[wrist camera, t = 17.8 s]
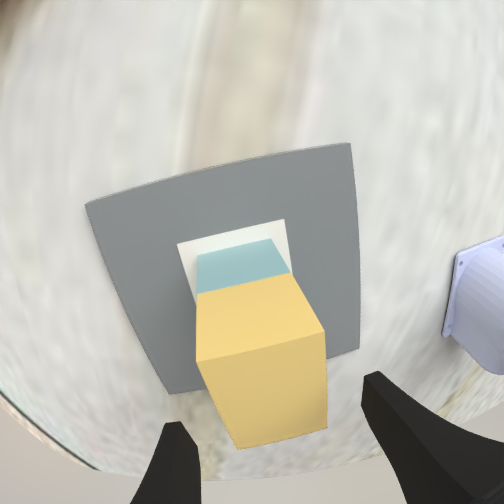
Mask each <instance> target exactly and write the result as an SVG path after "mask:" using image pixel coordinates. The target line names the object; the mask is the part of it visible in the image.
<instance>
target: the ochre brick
mask: <svg viewBox="0 0 504 504" xmlns="http://www.w3.org/2000/svg"><path fill="white" fill-rule="evenodd" d="M196 363H197V365H198V368H199V370H200V372H201V375H202V377H203V379H204V381H205V384H206V386H207V388H208V390H209V393H210V395H211V397H212V399H213V401H214V403H215V406H216V408H217V410H218V412H219V414H220V416H221V418H222V420H223V422H224V424H225V426H226V429H227V431H228V433H229V435H230V437H231V439H232V440H233V442H234V444H235V446H236V448H237V450H241V449H246V448H251V447H256V446H261V445H266V444H270V443H274V442H279V441H283V440H287V439H291V438H295V437H298V436H302V435H305V434H309V433H312V432H316V431H319V430H322V429H326V428H327V373H326V347H325V331H324V329H323V327H322V325H321V324H320V322H319V320H318V318H317V317H316V315H315V313H314V311H313V310H312V308H311V306H310V304H309V303H308V301H307V299H306V297H305V296H304V294H303V292H302V291H301V289H300V287H299V285H298V284H297V282H296V280H295V278H294V277H293V275H292V273H291V272H290V273H286V274H282V275H278V276H274V277H270V278H265V279H261V280H257V281H253V282H249V283H244V284H240V285H236V286H231V287H227V288H222V289H218V290H214V291H209V292H205V293H200V294H197V308H196Z"/></svg>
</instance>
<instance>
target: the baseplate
mask: <svg viewBox="0 0 504 504" xmlns="http://www.w3.org/2000/svg"><path fill="white" fill-rule="evenodd" d="M85 208H86V211H87V214H88V217H89V220H90V223H91V226H92V229H93V232H94V234H95V237H96V240H97V243H98V246H99V248H100V251H101V254H102V256H103V259H104V262H105V264H106V267H107V269H108V272H109V274H110V277H111V279H112V281H113V284H114V286H115V289H116V291H117V293H118V296H119V298H120V300H121V302H122V305H123V307H124V309H125V311H126V313H127V316H128V318H129V320H130V322H131V324H132V326H133V328H134V330H135V332H136V334H137V336H138V338H139V340H140V342H141V344H142V346H143V348H144V350H145V352H146V354H147V356H148V358H149V360H150V362H151V364H152V365H153V367H154V369H155V371H156V373H157V375H158V376H159V378H160V380H161V382H162V383H163V385H164V387H165V389H166V390H167V392H168V394H176V393H183V392H189V391H195V390H201V389H206V388H207V386H206V384H205V381H204V379H203V377H202V375H201V372H200V370H199V368H198V365H197V363H196V308H197V295H196V289H197V262H198V255H201V254H205V253H209V252H213V251H218V250H222V249H226V248H230V247H235V246H239V245H243V244H247V243H252V242H256V241H260V240H264V239H269V238H271V239H272V241H273V243H274V244H275V246H276V248H277V250H278V251H279V253H280V255H281V256H282V258H283V260H284V261H285V263H286V265H287V267H288V268H289V270H290V272H291V273H292V275H293V277H294V278H295V280H296V282H297V284H298V285H299V287H300V289H301V291H302V292H303V294H304V296H305V297H306V299H307V301H308V303H309V304H310V306H311V308H312V310H313V311H314V313H315V315H316V317H317V318H318V320H319V322H320V324H321V325H322V327H323V329H324V331H325V347H326V359H328V358H331V357H335V356H338V355H341V354H344V353H347V352H350V351H353V350H356V349H359V344H360V249H359V229H358V214H357V201H356V189H355V179H354V169H353V161H352V152H351V145H350V143H339V144H331V145H324V146H318V147H311V148H305V149H299V150H293V151H287V152H281V153H276V154H270V155H265V156H260V157H255V158H250V159H245V160H240V161H236V162H231V163H226V164H222V165H217V166H213V167H209V168H205V169H201V170H196V171H192V172H188V173H184V174H181V175H177V176H173V177H169V178H165V179H162V180H158V181H155V182H151V183H147V184H144V185H141V186H137V187H134V188H130V189H127V190H124V191H121V192H117V193H114V194H111V195H108V196H105V197H102V198H99V199H96V200H93V201H90V202H87V203H86V204H85Z"/></svg>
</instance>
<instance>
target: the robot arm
mask: <svg viewBox="0 0 504 504" xmlns="http://www.w3.org/2000/svg"><path fill="white" fill-rule="evenodd" d="M442 335H443V337H448V336H450V335H451V336H452V337H453V338H454V339H455V340H456V341H457V342H458V343H459V344H460V345H461V346H462V347H463V348H464V349H465V350H466V351H467V352H468V353H469V354H470V355H471V357H472V358H473V359H474V360H475V361H476V362H477V363H478V364H479V365H480V366H481V367H482V368H483V369H485V370H486V371H488V372H490V373H493V374H497V375H504V236H503V235H502V236H500V237H497V238H495V239H492V240H490V241H487V242H484V243H482V244H479V245H477V246H474V247H471V248H469V249H466V250H463V251H460V252H459V253H458V254H457V255H456V258H455V266H454V273H453V280H452V287H451V293H450V298H449V304H448V309H447V314H446V319H445V323H444V328H443V332H442ZM361 407H362V409H363V412H364V414H365V417H366V419H367V422H368V424H369V426H370V428H371V430H372V432H373V433H374V435H375V437H376V439H377V440H378V442H379V444H380V446H381V447H382V449H383V451H384V453H385V454H386V456H387V458H388V459H389V461H390V463H391V465H392V467H393V469H394V471H395V473H396V476H397V478H398V481H399V483H400V485H401V488H402V491H403V493H404V496H405V499H406V502H407V504H504V443H503V442H499V441H495V440H492V439H488V438H485V437H482V436H480V435H477V434H474V433H472V432H469V431H466V430H464V429H462V428H460V427H458V426H456V425H454V424H452V423H450V422H448V421H446V420H445V419H443V418H441V417H439V416H438V415H436V414H435V413H433V412H431V411H430V410H428V409H427V408H425V407H424V406H422V405H421V404H420V403H418V402H417V401H416V400H414V399H413V398H411V397H410V396H409V395H407V394H406V393H405V392H404V391H402V390H401V389H400V388H399V387H397V386H396V385H395V384H394V383H393V382H391V381H390V380H389V379H388V378H387V377H386V376H384V375H383V374H382V373H381V372H380V371H376V372H373V373H371V374H368V375H365V376H364V382H363V392H362V401H361ZM130 504H201V469H200V461H199V454H198V447H197V445H196V443H195V442H194V441H193V439H192V438H191V436H190V435H189V433H188V432H187V430H186V429H185V427H184V426H183V424H182V423H181V421H178V422H170V423H165V425H164V427H163V430H162V433H161V436H160V439H159V441H158V444H157V447H156V449H155V452H154V455H153V457H152V459H151V462H150V464H149V467H148V469H147V471H146V474H145V476H144V478H143V480H142V482H141V484H140V486H139V488H138V490H137V492H136V494H135V496H134V497H133V499H132V501H131V503H130Z"/></svg>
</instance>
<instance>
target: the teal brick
mask: <svg viewBox="0 0 504 504" xmlns="http://www.w3.org/2000/svg"><path fill="white" fill-rule="evenodd" d="M286 273H290V270H289V268H288V267H287V265H286V263H285V261H284V260H283V258H282V256H281V255H280V253H279V251H278V250H277V248H276V246H275V244H274V243H273V241H272V239H271V238H269V239H264V240H260V241H256V242H252V243H247V244H243V245H239V246H235V247H230V248H226V249H222V250H218V251H213V252H209V253H205V254H201V255H198V262H197V289H196V295H197V294H200V293H205V292H209V291H214V290H218V289H222V288H227V287H231V286H236V285H240V284H244V283H249V282H253V281H257V280H261V279H265V278H270V277H274V276H278V275H282V274H286Z"/></svg>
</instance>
